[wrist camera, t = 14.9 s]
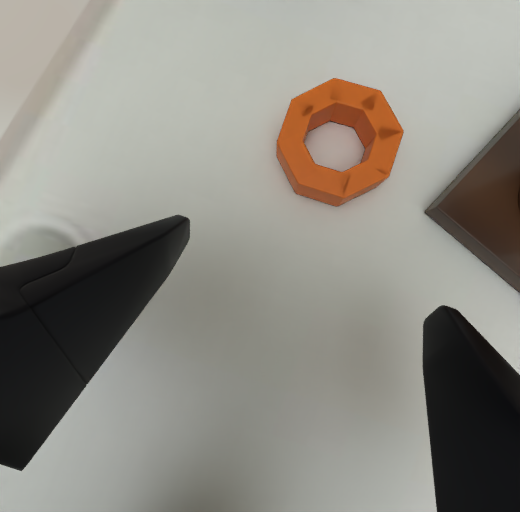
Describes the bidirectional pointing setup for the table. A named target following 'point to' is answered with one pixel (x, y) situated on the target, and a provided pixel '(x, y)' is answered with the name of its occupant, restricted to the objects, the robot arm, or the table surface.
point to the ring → (348, 113)
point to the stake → (488, 204)
